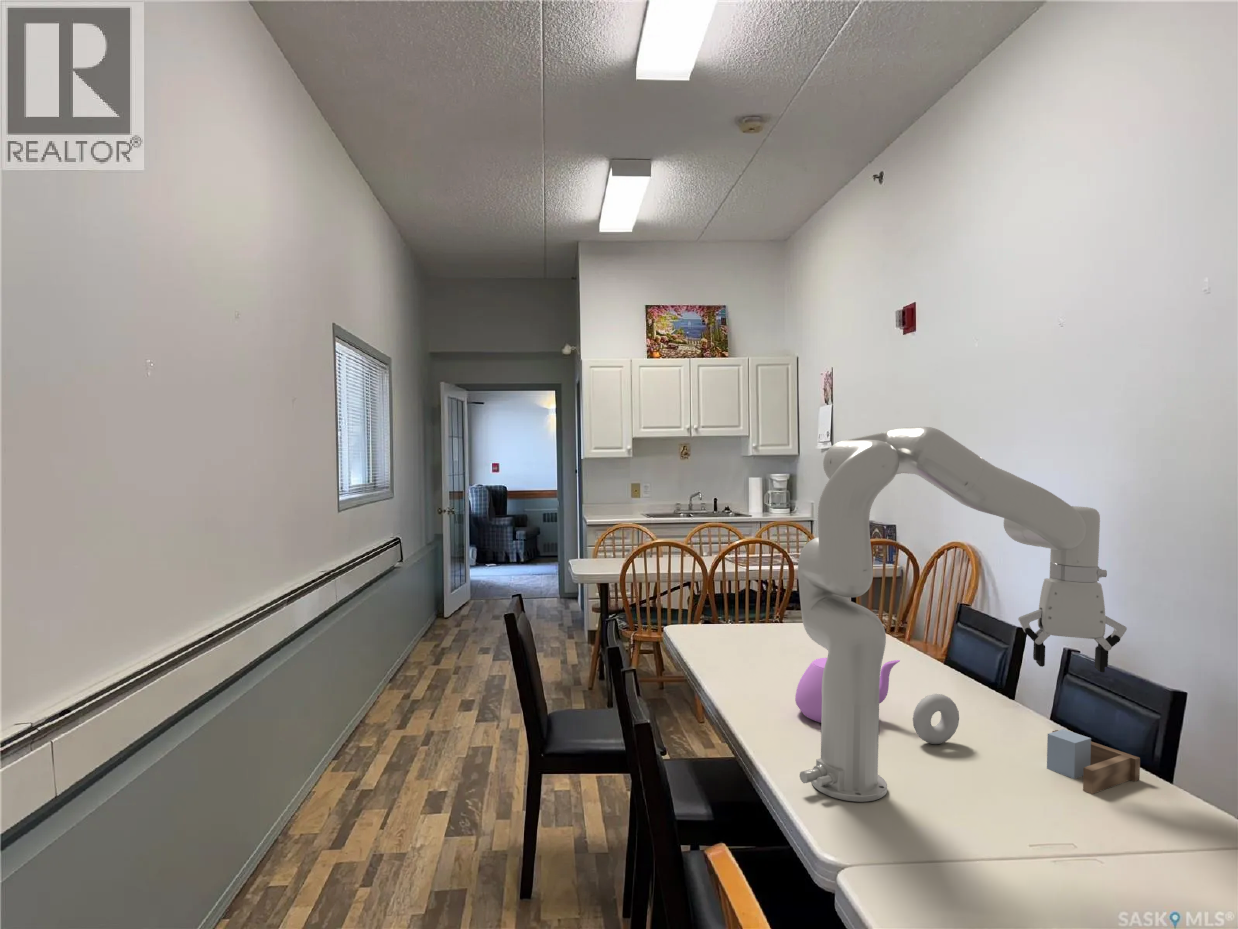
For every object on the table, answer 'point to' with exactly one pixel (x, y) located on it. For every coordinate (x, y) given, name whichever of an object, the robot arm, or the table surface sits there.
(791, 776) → the table surface
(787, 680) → the table surface
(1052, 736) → the block
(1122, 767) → the corner stop
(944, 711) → the donut
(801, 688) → the teapot
